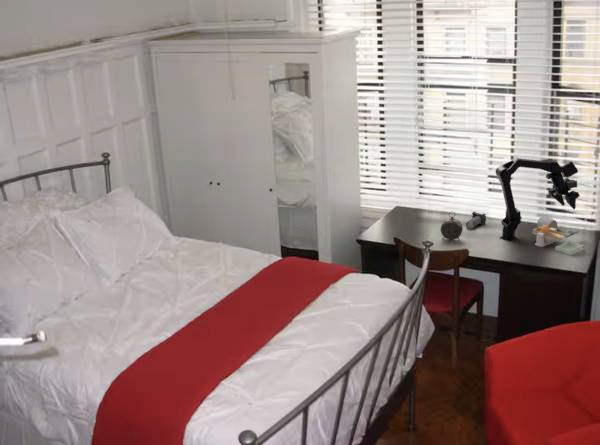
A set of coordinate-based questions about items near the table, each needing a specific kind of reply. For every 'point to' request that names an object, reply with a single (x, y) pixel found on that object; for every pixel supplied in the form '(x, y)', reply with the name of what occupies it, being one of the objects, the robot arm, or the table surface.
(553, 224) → the ceramic mug
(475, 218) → the camera
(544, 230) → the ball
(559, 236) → the lever
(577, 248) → the tray
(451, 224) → the alarm clock
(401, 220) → the table surface
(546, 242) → the stand
